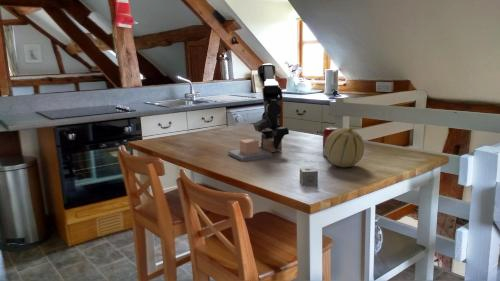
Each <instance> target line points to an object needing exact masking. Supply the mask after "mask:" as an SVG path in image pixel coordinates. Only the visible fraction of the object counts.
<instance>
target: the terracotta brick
mask: <svg viewBox="0 0 500 281" xmlns="http://www.w3.org/2000/svg"><path fill="white" fill-rule="evenodd" d="M259 143H260V141H259V140H256V139H254V138H248V139H240V140H239V149H240V152H242V153H244V154H253V153H259V148H260V144H259Z"/></svg>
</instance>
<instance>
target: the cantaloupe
mask: <svg viewBox="0 0 500 281" xmlns="http://www.w3.org/2000/svg"><path fill="white" fill-rule="evenodd" d="M364 143H365V142H364V139H363V138H362V135H361V134H360V133H359V132H357V131H355V129H353V128H352V127H350V128H348V127H342V128H340V127H339V128H338V129H336V130H334V131H333V132H332V133H331V134H330V135H329V136H328V138H327V140H326V142H325V154H326V156H327V157H326V156H325V157H326V158H327V160H328V161H329V162H330V163H332V164H333V165H334V166H336V167H340V168H348V167H349V168H350V167H353V166H355V165H357V164H358V163H359V162H360V161H361V160H362V158H363V156H364V152H365V144H364Z"/></svg>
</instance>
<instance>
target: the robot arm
mask: <svg viewBox="0 0 500 281" xmlns="http://www.w3.org/2000/svg"><path fill="white" fill-rule="evenodd" d="M276 72H277V71H276V65H274V64H272V63H263V64H262V65H259V66H258V67H257V77H258V78H259V79H258V80H259V82H260V83H261V85H262V90H261V91H262V100H263V107H264V108H263V109H264V112H263V113H262V115H261V119H260V120H258V121H256V122H254V123H253V124H252V125H253V128H254V131H255V132H258V133H261V135H260V136H261V142H260V145H263V139H266V138H274V147H275V149H278V147H279V144H280V142H281V140H283V138H284V137H285V136H286V135H289V134H290V129H289V128H288V127H284V126H281V124H280V120H279V119H280V118H281V115H280V114H281V111H282V108H281V105H280V104H279V101H280V102H281V101H282V99H283V91H282V88H281V86H279V82H278V81H276V80H275V76H276Z"/></svg>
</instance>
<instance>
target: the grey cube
mask: <svg viewBox="0 0 500 281" xmlns="http://www.w3.org/2000/svg"><path fill="white" fill-rule="evenodd" d="M318 174H319V170H318V169H316V166H312V167H311V166H309V167H299V183H300V185H301V184H302V185H301V186H305V187H318V185H319V183H318V182H319V178H318V177H319V175H318Z"/></svg>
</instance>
